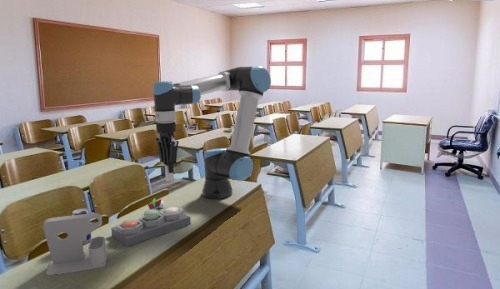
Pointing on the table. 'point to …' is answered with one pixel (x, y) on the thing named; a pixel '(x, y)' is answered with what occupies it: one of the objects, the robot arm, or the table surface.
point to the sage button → (151, 215)
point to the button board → (150, 227)
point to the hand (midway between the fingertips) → (169, 180)
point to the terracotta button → (129, 224)
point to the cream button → (171, 210)
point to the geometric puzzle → (157, 205)
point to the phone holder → (74, 244)
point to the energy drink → (85, 211)
